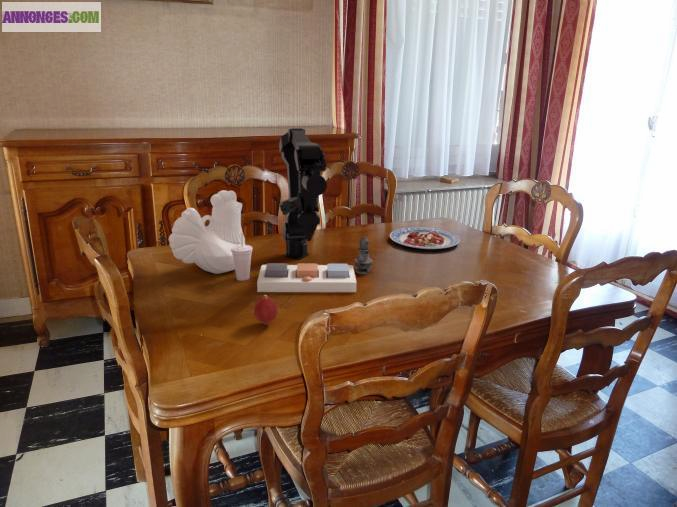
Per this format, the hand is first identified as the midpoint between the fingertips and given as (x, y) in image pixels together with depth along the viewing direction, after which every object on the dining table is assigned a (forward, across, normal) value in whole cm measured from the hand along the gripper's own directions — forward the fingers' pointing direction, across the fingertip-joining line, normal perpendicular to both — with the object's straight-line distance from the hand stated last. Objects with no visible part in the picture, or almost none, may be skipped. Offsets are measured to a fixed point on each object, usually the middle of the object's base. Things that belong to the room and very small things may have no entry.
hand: (308, 240), depth 156 cm
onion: (+12, +32, -11) cm, 36 cm away
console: (+12, +4, 0) cm, 13 cm away
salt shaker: (+12, -5, +17) cm, 21 cm away
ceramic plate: (+11, -36, +43) cm, 57 cm away
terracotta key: (+10, +4, 0) cm, 11 cm away
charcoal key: (+10, +4, -9) cm, 14 cm away
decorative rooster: (+12, -6, -31) cm, 34 cm away
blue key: (+10, +5, +9) cm, 14 cm away
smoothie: (+12, +1, -20) cm, 23 cm away
